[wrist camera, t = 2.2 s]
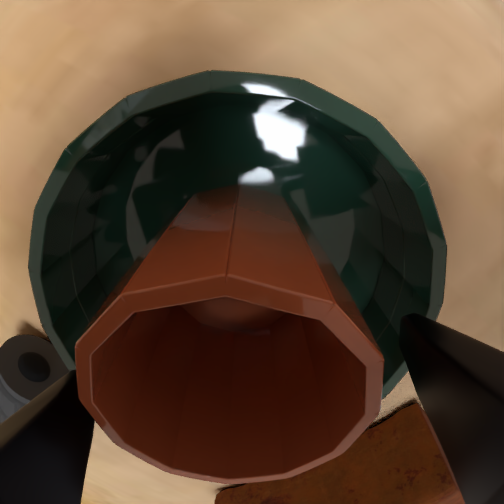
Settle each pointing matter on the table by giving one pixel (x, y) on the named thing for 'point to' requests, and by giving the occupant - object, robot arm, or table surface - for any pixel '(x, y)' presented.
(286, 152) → the planter
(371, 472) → the brick
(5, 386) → the flashlight
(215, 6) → the table surface
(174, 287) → the small pot
